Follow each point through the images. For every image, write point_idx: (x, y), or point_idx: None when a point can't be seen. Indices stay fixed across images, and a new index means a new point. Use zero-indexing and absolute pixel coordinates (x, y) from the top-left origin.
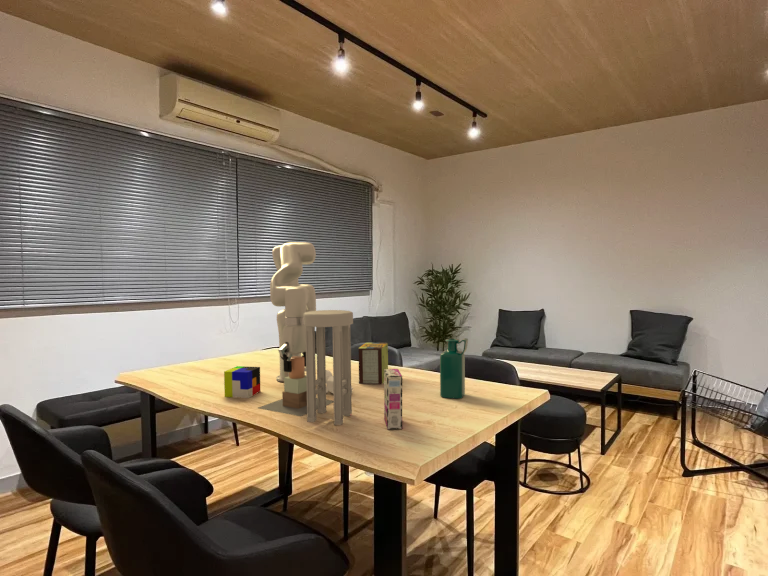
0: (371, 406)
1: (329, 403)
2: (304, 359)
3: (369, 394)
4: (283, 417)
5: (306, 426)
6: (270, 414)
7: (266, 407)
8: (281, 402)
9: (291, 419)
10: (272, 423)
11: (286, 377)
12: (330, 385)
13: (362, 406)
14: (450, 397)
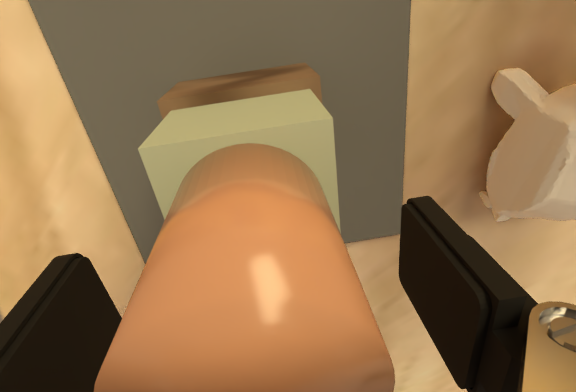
0: (409, 341)
1: (355, 236)
2: (443, 303)
3: (560, 249)
4: (92, 222)
5: None
6: (56, 140)
7: (77, 24)
8: (213, 12)
9: (108, 263)
10: (13, 248)
11: (166, 156)
12: (532, 149)
13: (396, 324)
14: None
